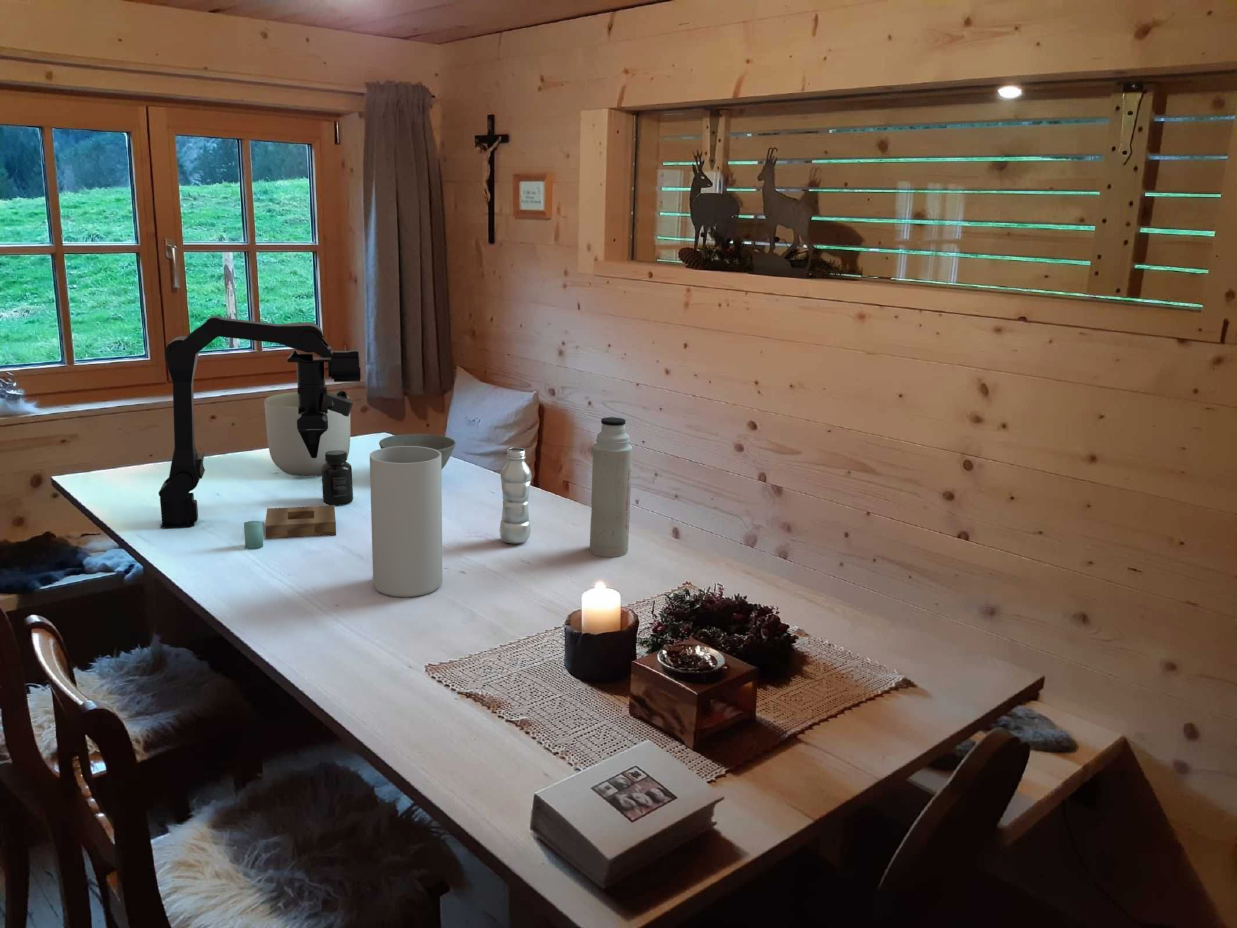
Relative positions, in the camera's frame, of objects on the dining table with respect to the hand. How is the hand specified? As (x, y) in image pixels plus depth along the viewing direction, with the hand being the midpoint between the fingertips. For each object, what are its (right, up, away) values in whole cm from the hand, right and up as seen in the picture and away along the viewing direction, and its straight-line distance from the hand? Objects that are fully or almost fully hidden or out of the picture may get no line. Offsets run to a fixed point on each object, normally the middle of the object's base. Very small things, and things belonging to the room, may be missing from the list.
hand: (314, 452), depth 212 cm
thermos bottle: (+65, -21, -11) cm, 69 cm away
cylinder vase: (+28, -25, -33) cm, 50 cm away
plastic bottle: (+45, -19, -8) cm, 49 cm away
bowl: (+15, -7, +35) cm, 39 cm away
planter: (-13, -4, +39) cm, 42 cm away
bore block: (-1, -16, -5) cm, 17 cm away
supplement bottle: (+1, -12, +14) cm, 19 cm away
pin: (-7, -19, -16) cm, 26 cm away
